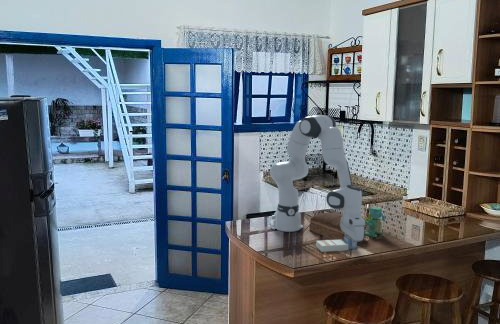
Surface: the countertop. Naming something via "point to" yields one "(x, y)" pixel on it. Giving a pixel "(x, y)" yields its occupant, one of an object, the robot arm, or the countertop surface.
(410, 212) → the countertop surface
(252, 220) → the countertop surface
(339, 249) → the white flat box
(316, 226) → the bread
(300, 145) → the robot arm
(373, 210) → the toy
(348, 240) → the light blue cube
